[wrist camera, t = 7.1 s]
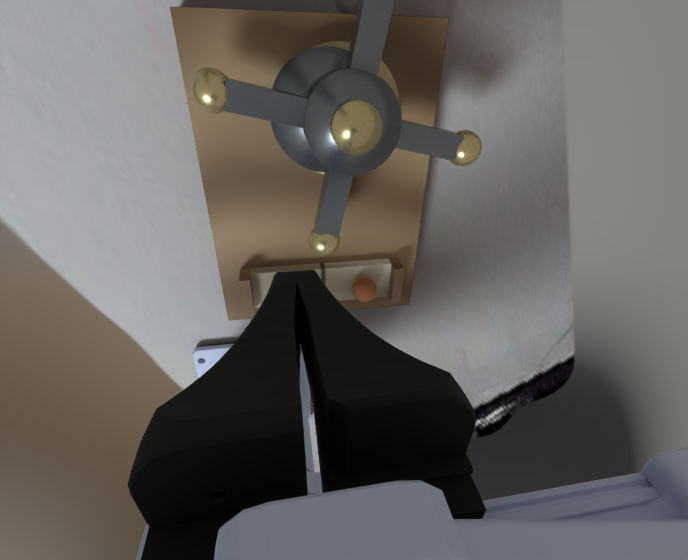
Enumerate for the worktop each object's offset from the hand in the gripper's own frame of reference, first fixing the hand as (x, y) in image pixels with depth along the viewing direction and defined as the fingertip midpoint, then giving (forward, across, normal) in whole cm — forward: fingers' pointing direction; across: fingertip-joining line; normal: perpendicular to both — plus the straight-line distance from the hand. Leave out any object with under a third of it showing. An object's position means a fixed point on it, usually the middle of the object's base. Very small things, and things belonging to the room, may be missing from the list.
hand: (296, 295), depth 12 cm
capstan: (+8, -3, -4) cm, 10 cm away
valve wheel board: (+10, -2, 0) cm, 11 cm away
